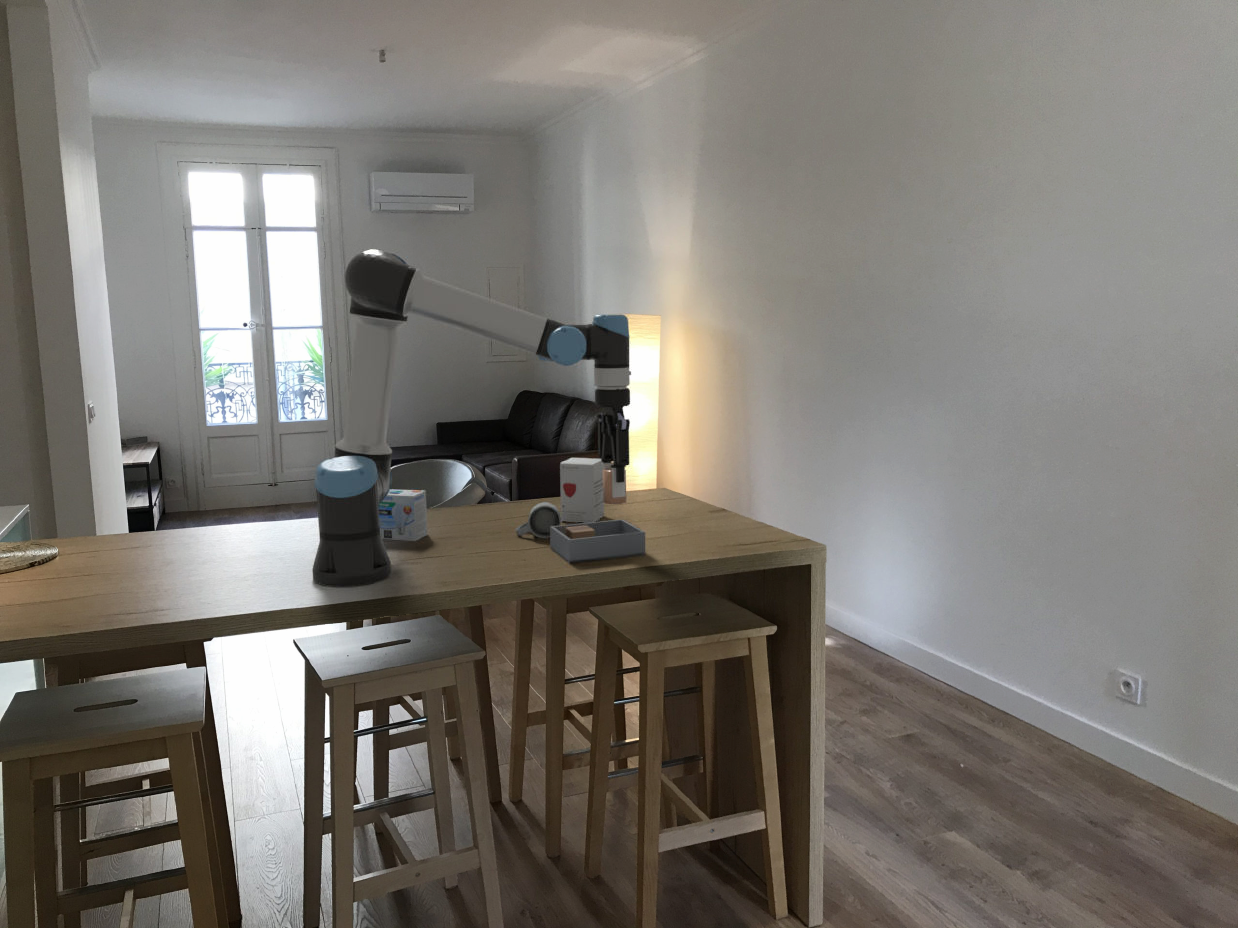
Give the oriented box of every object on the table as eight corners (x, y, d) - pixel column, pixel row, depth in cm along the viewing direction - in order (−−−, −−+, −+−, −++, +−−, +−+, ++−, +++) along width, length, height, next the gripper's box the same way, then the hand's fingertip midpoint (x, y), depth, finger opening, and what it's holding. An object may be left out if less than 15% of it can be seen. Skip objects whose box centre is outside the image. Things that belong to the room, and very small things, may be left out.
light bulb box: (373, 539, 216) (371, 493, 215) (387, 532, 223) (385, 488, 221) (416, 541, 214) (413, 495, 212) (428, 534, 220) (426, 489, 218)
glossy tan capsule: (608, 505, 200) (607, 473, 198) (600, 500, 204) (599, 469, 203) (629, 502, 202) (629, 471, 200) (621, 498, 206) (620, 467, 205)
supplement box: (559, 522, 232) (558, 462, 229) (571, 514, 240) (570, 456, 237) (594, 524, 229) (593, 464, 226) (605, 516, 237) (604, 458, 235)
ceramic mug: (560, 529, 224) (559, 498, 223) (561, 537, 216) (560, 505, 214) (516, 531, 223) (514, 500, 222) (515, 540, 215) (514, 507, 214)
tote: (569, 563, 194) (568, 540, 193) (550, 548, 206) (550, 526, 205) (645, 554, 200) (645, 532, 199) (622, 540, 212) (622, 519, 212)
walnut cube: (595, 552, 200) (594, 530, 199) (573, 555, 198) (572, 532, 198) (587, 547, 205) (586, 525, 204) (565, 549, 203) (565, 527, 202)
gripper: (644, 389, 192) (646, 500, 196) (613, 383, 208) (615, 485, 212) (610, 391, 189) (612, 503, 193) (581, 385, 206) (584, 488, 209)
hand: (614, 494), depth 203 cm, fingers closed on glossy tan capsule, 5 cm apart
